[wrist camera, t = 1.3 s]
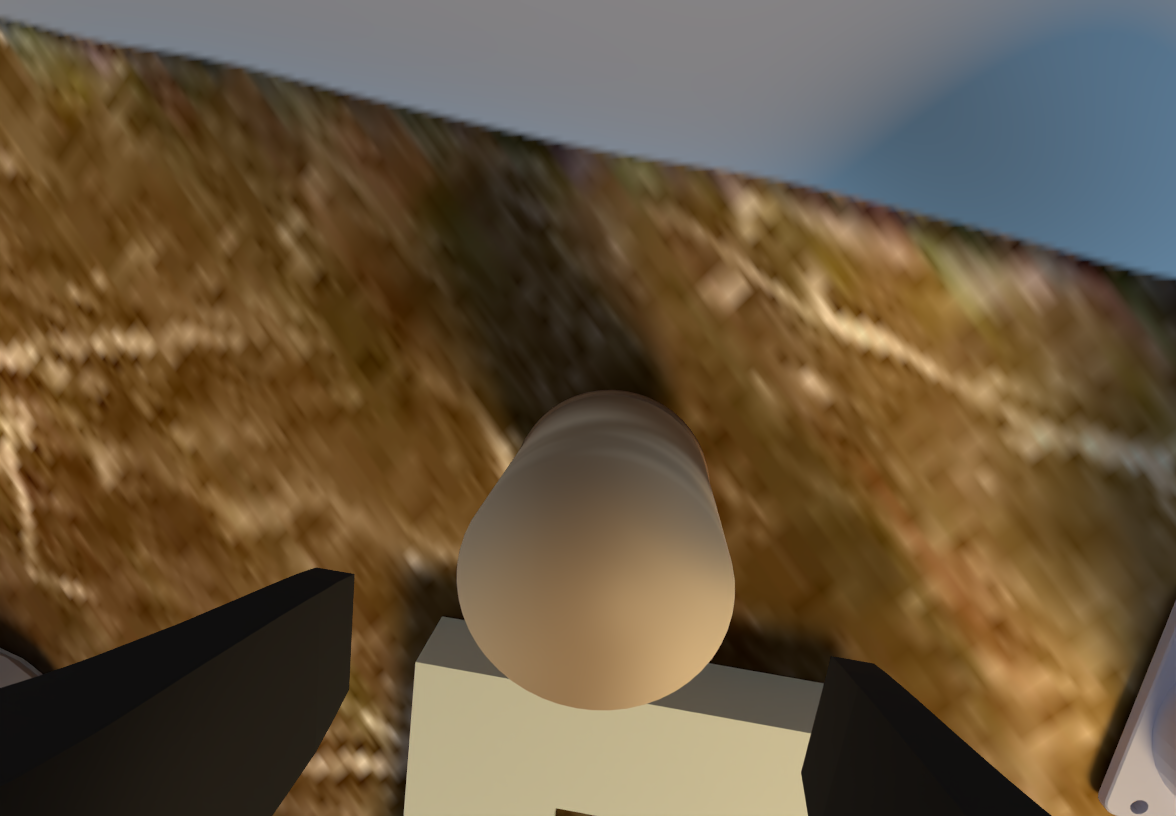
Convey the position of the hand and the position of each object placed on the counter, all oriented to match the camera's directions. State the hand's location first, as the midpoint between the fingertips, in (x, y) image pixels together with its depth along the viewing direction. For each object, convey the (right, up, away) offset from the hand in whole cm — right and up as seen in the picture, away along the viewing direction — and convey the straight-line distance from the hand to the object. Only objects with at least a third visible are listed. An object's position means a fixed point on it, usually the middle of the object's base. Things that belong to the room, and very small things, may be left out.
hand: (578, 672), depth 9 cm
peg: (+1, +2, +10) cm, 10 cm away
